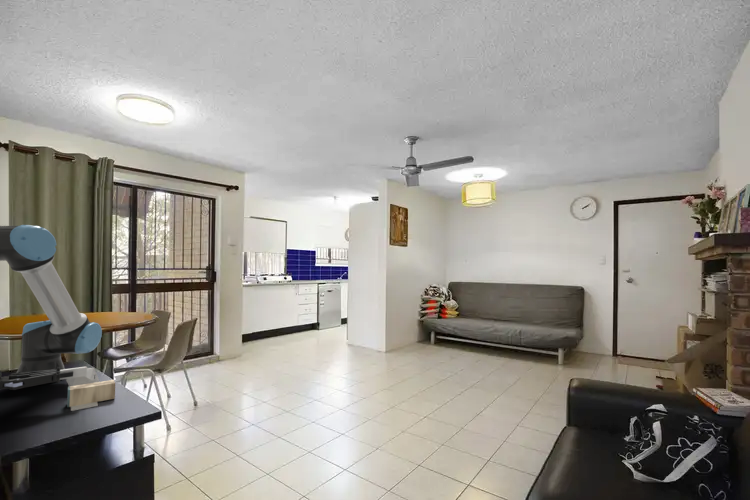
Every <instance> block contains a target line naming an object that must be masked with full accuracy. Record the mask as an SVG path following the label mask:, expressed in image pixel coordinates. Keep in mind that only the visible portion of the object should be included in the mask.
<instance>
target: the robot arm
mask: <svg viewBox="0 0 750 500" xmlns="http://www.w3.org/2000/svg"><path fill="white" fill-rule="evenodd" d="M56 247H57V241H56V238H55V236H54V235H53V234H52V233H51V232H50V230H48V229H46V228H44V227H41V226H39V225H31V224H21V225H0V262H1V261H2V262H3V261H6V262H7V264H8V265H9V267H10V269H11V270H12V271H13V272H17V273H20V274H21V275H22V277H23V279H24V280H25V282H26V284H27V285H28V287H29V289H30V290H31V292H32V294H33V295H34V297H35V299H36V300H37V301H38V303H39V305H40V307H41V309H42V310H43V312H44V313H45V315H46V316H47V318H48V320H44V321H43V320H42V321H36V322H29V323H26V324H25V325H24V326H23V328H22V333H21V353H20V354H21V359H20V364H19V367H18V368H17V370H16V372H12V373H10V374H9V375H7V376H6V375H4V376H2V371H1V370H0V390H5V389H6V390H9V391H11V390H12V391H16V390H19V389H20V390H21V389H25V388H29V387H35V386H39V385H47V384H50V383H60V381H61V380H62V381H63V380H66V379H68V378H75V377H82V376H87V368H88V367H87V366H80V367H79V366H78V367H72V368H65V365H64V362H63V360H62V354H73V355H75V354H77V355H80V354H88V353H90V352H92V351H94V350H95V349H96V348H97V347H98V345H99V344H100V342H101V338H102V337H103V335H102V334H103V330H102V329H103V328H102V326H101V325H100V324H99V323H98V322H95V321H93V322H91V321H90V320H89V318H88V317H87V314H85V313H83V312H79V310H78V308H77V306H76V304H75V302H74V301H73V298H72V297H71V295H70V293H69V292H68V290H67V288H66V286H65V285H64V282H63V280H62V279H61V277H60V275H59V274H58V271H57V269H56V267H55V266H54V264H53V263H52V262H53V261H54V259H55V254H56V251H57V248H56Z"/></svg>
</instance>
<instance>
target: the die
mask: <svg viewBox="0 0 750 500" xmlns="http://www.w3.org/2000/svg"><path fill="white" fill-rule="evenodd" d="M65 381H66V383H67V385H68V387H70V386H76V385H83V384H89V383H96V382H101V381H100V378H99V376H98V374H97V372H96V370H95V368H94V367H87V376H82V377H75V378H68V379H65Z"/></svg>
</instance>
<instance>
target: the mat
mask: <svg viewBox="0 0 750 500" xmlns="http://www.w3.org/2000/svg"><path fill="white" fill-rule="evenodd" d="M98 406H99V404H98V402H93V403H87V404H82V405H76V406H71V407H70V411H72V412H74V411H78V410H83V409H90V408H95V407H98Z"/></svg>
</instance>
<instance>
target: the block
mask: <svg viewBox="0 0 750 500" xmlns="http://www.w3.org/2000/svg"><path fill="white" fill-rule="evenodd" d="M66 398H67V399H66V400H67V401H66V404H67V405H66V407H67V408H71V406H76V405H82V404H87V403H93V402H97V403H98V402H103V401H108V400H114V399H116V382H115V379H110V380H104V381H102V380H101V381H99V382H96V383H89V384H83V385H76V386H70V387H69V386H67V397H66Z"/></svg>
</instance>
